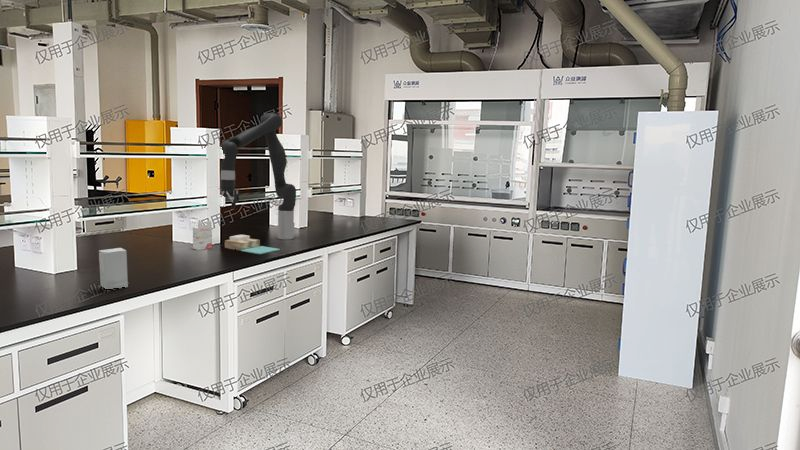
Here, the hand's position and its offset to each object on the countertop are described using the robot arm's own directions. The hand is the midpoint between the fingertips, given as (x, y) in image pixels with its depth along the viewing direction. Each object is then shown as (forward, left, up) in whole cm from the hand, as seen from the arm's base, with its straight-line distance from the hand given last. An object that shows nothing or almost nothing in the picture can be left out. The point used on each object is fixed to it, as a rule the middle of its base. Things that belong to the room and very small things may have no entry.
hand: (227, 208), depth 305 cm
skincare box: (+92, +32, -21) cm, 99 cm away
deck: (0, +11, -20) cm, 23 cm away
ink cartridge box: (+16, -2, -21) cm, 26 cm away
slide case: (0, +9, -16) cm, 19 cm away
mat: (0, +24, -20) cm, 31 cm away
